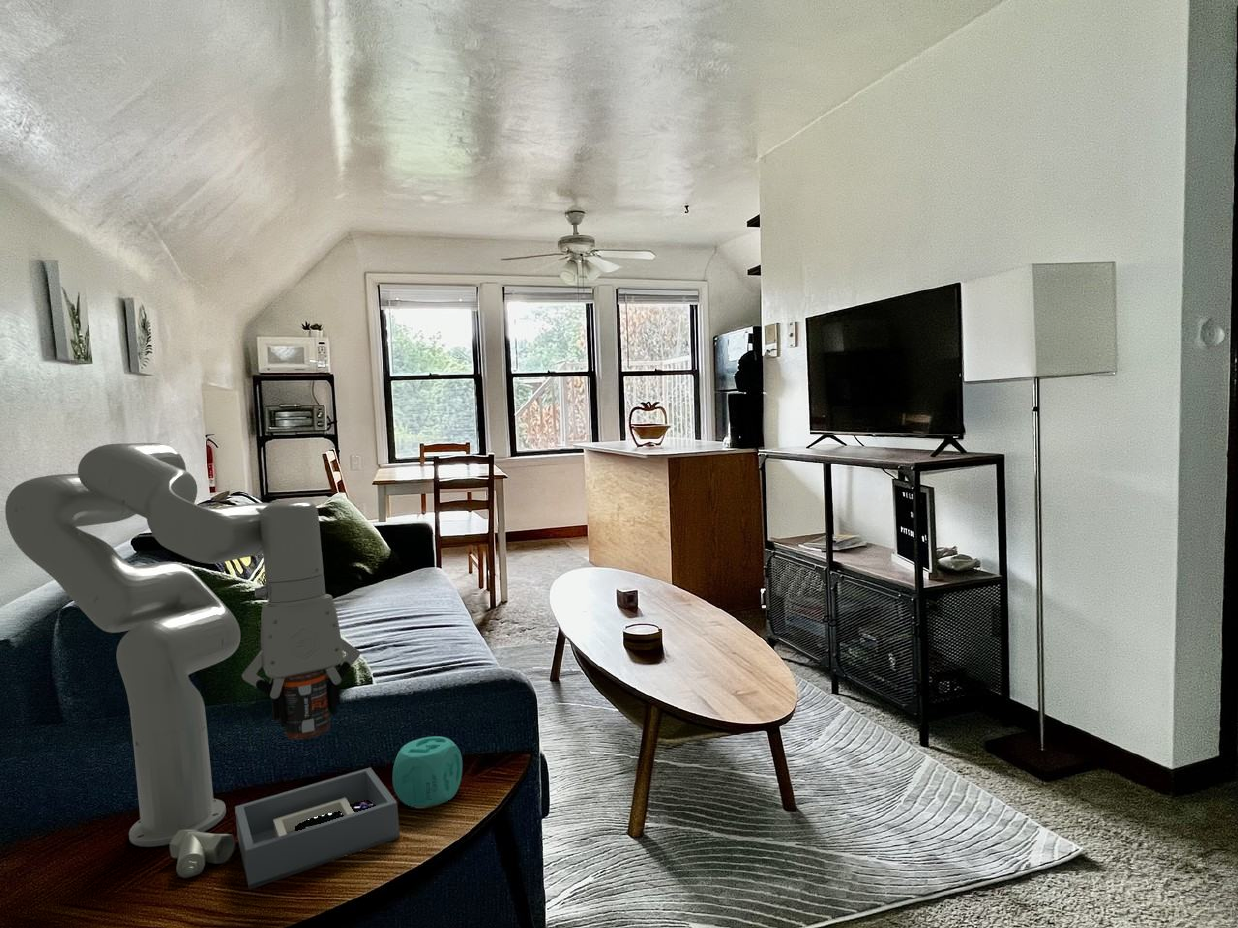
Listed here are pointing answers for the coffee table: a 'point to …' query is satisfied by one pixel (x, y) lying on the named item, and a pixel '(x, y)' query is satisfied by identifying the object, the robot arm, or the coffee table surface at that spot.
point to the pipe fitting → (199, 850)
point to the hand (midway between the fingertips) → (307, 715)
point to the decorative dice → (427, 771)
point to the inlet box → (286, 852)
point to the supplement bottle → (306, 705)
